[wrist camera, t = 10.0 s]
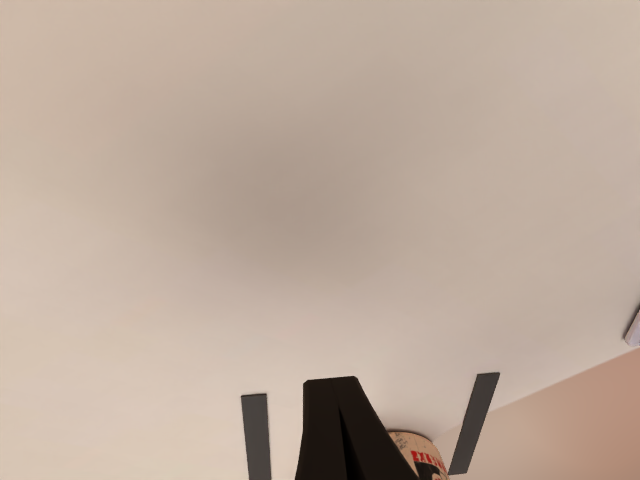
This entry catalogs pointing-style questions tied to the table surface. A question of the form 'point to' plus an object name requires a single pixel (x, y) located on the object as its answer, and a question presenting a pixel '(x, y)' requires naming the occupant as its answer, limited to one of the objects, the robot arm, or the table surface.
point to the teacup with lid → (420, 455)
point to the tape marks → (466, 444)
